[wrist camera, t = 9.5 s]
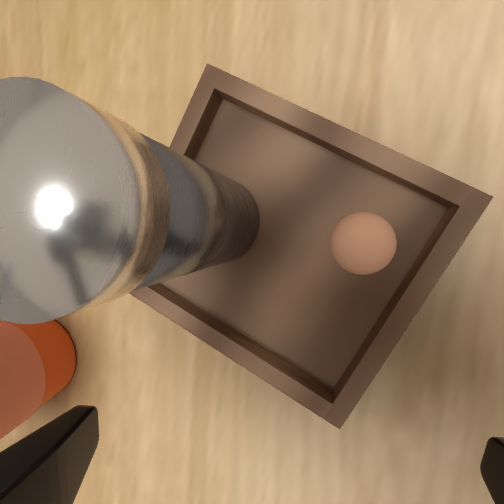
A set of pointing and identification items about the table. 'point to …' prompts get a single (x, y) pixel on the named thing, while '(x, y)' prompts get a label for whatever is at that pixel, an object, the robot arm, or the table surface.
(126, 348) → the table surface
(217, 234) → the shaker
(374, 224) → the ball
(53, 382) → the cup with straw
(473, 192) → the tray
